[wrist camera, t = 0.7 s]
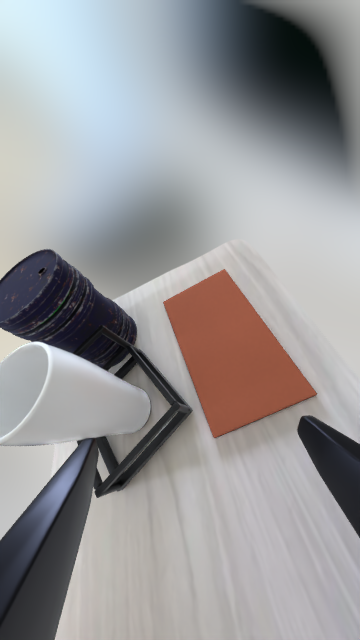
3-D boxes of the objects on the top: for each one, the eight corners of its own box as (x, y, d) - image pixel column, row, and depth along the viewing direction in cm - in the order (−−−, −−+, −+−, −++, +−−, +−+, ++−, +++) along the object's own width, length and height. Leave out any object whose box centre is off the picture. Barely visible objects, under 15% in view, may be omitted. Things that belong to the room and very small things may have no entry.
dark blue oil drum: (86, 378, 30) (-33, 341, 18) (87, 328, 36) (-4, 274, 24) (141, 353, 29) (52, 295, 17) (133, 305, 34) (62, 235, 22)
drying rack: (192, 410, 22) (158, 399, 15) (122, 489, 21) (47, 518, 14) (142, 351, 29) (101, 323, 22) (86, 409, 28) (22, 400, 20)
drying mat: (316, 395, 19) (317, 394, 19) (214, 438, 20) (213, 438, 20) (225, 271, 31) (224, 268, 30) (164, 303, 32) (162, 301, 32)
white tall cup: (168, 410, 23) (64, 385, 11) (127, 454, 23) (-31, 478, 11) (139, 372, 27) (40, 323, 15) (104, 409, 27) (-31, 388, 14)
